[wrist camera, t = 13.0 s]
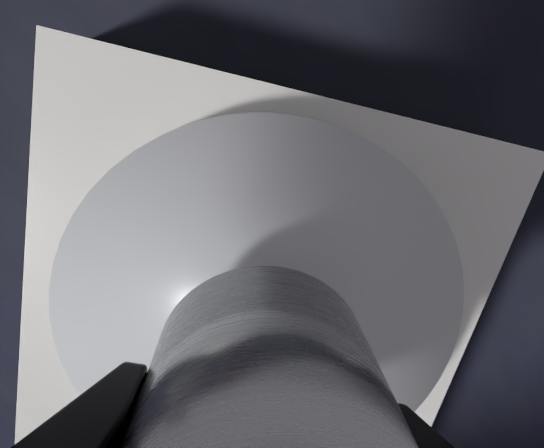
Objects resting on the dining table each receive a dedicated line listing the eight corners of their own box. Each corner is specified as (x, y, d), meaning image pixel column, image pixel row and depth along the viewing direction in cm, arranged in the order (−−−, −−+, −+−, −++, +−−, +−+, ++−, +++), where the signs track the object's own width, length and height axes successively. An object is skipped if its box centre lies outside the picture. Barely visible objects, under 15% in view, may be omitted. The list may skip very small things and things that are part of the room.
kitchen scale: (374, 464, 16) (407, 561, 13) (52, 421, 15) (-6, 518, 11) (502, 143, 12) (597, 163, 9) (84, 40, 11) (12, 17, 7)
